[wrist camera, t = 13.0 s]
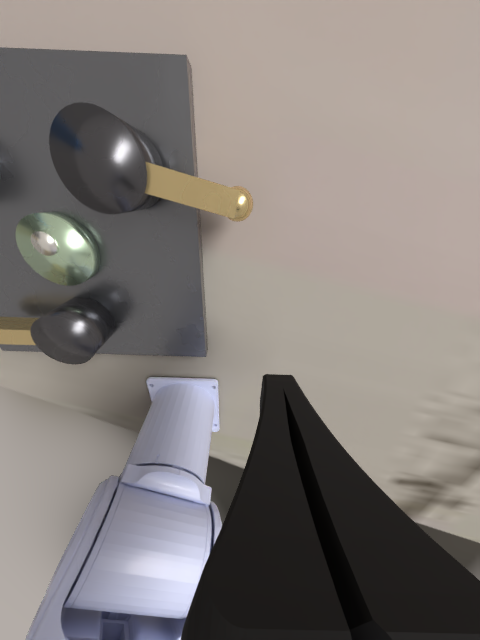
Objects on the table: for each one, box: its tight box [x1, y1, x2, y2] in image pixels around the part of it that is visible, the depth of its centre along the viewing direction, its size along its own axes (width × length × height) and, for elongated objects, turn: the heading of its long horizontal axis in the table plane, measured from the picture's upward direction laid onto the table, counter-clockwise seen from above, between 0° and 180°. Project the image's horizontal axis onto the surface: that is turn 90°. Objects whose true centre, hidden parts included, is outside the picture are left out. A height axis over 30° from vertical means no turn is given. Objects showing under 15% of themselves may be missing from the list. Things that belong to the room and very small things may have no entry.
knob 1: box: [0, 297, 115, 364], centre depth 17 cm, size 10×4×3 cm, turn 88°
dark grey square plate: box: [0, 48, 208, 357], centre depth 16 cm, size 20×20×2 cm
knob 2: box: [49, 102, 253, 221], centre depth 12 cm, size 10×4×3 cm, turn 75°
